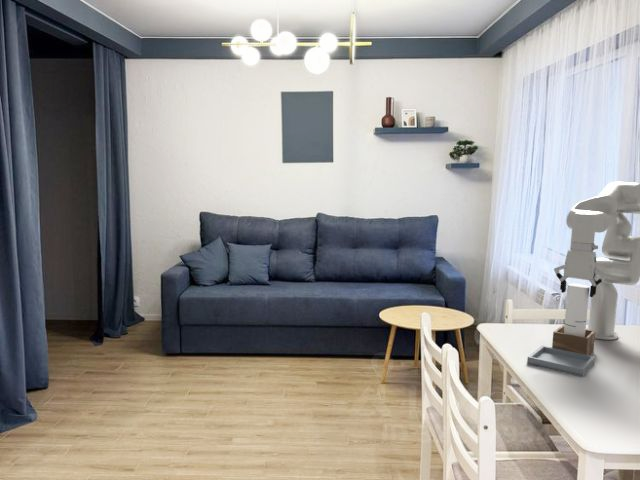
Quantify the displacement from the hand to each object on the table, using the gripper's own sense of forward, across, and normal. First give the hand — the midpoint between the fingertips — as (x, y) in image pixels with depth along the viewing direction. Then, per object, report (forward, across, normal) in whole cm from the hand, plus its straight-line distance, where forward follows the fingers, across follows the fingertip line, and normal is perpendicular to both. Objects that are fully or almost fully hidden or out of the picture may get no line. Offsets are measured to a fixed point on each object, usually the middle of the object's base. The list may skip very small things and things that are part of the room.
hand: (577, 294), depth 210 cm
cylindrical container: (+22, 0, -1) cm, 22 cm away
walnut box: (+22, 0, -1) cm, 22 cm away
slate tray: (+22, 0, +14) cm, 26 cm away
